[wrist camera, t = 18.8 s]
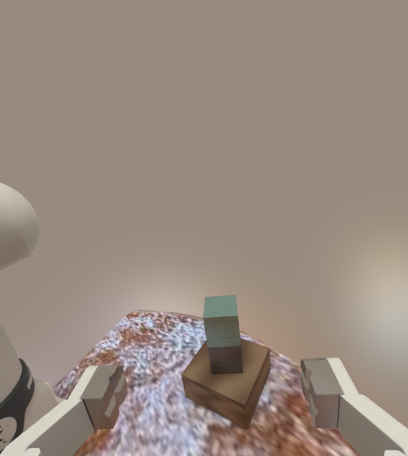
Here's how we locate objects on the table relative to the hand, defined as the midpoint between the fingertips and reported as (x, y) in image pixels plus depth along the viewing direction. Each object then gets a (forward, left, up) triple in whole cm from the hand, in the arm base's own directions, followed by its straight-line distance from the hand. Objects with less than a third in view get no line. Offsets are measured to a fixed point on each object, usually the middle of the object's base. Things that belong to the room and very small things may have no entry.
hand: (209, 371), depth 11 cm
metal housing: (-12, +20, -25) cm, 34 cm away
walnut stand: (-12, +20, -30) cm, 38 cm away
